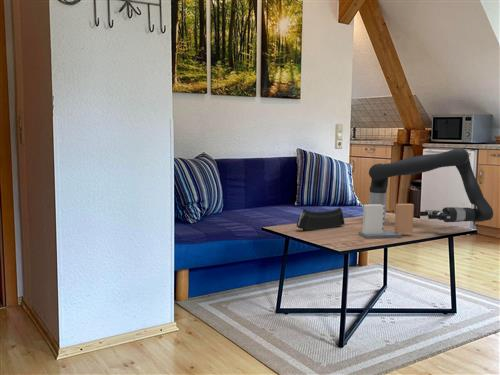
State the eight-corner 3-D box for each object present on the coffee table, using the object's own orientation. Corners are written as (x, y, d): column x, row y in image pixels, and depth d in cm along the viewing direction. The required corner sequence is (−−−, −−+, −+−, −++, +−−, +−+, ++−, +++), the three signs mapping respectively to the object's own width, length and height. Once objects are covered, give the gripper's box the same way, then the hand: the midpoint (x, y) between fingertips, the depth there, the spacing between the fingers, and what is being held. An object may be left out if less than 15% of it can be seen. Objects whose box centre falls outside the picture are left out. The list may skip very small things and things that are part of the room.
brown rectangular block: (394, 231, 250) (395, 203, 249) (409, 231, 252) (410, 203, 250) (397, 232, 247) (398, 204, 246) (412, 232, 249) (413, 204, 247)
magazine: (344, 209, 273) (303, 196, 256) (348, 210, 270) (307, 197, 253) (336, 239, 272) (295, 228, 255) (340, 240, 269) (299, 230, 253)
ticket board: (358, 234, 251) (359, 203, 249) (392, 233, 254) (393, 202, 252) (366, 238, 241) (368, 206, 239) (401, 237, 244) (403, 205, 242)
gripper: (446, 205, 260) (417, 205, 257) (462, 209, 246) (432, 210, 243) (445, 219, 261) (416, 220, 258) (461, 224, 247) (431, 225, 244)
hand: (423, 215), depth 250 cm, fingers open, 8 cm apart
